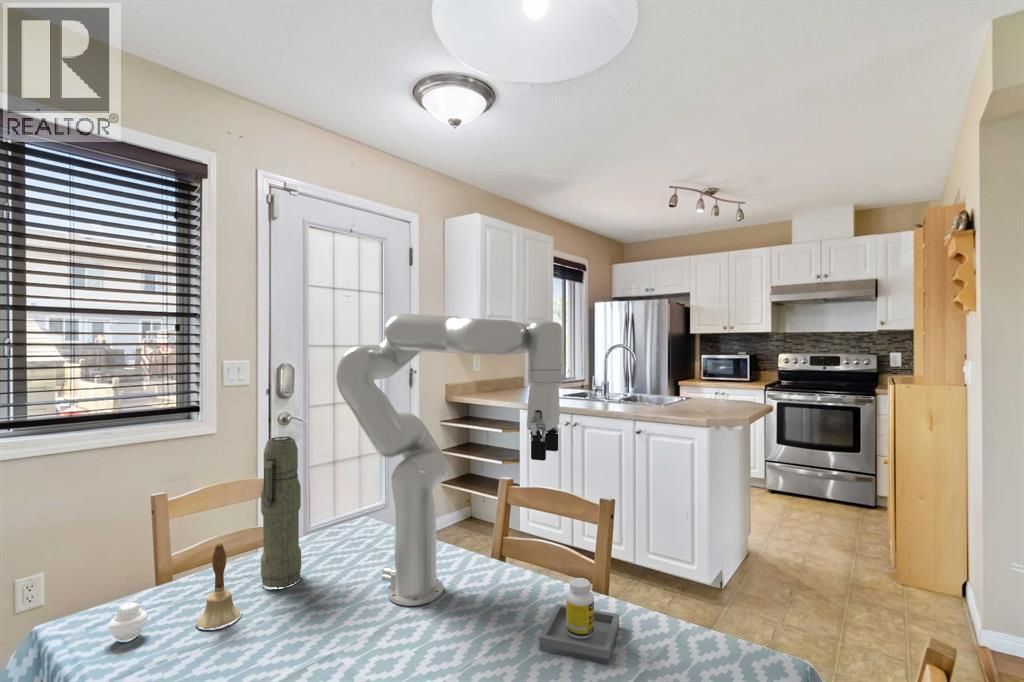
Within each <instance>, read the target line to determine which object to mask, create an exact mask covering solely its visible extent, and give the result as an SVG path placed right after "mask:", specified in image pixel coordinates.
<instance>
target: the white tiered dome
mask: <svg viewBox="0 0 1024 682" xmlns="http://www.w3.org/2000/svg"><path fill="white" fill-rule="evenodd" d="M116 612H117V613H116V614H115V615H114V617H113V618H112V619H111V620H110V621H109V624H108V629H109V632H110V634H111V635H112V636H113V637H114V639H115V640H116V639H117V640H118V639H119V640H125V639H126V640H127V639H130V638H133V637H135V636H137V635H138V634H140V635H141V633H142V631H143V630H144V627H145V625H146V622H147V620H148V616H149V615H148V613H147V612H146V611H145V610H143V609H142V608H141V607H140V604H139V603H138V602H128V603H125V604H123V605H121V606H120V607H119V608H118V609H117V610H116ZM117 640H116V641H117Z"/></svg>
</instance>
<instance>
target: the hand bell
mask: <svg viewBox="0 0 1024 682" xmlns="http://www.w3.org/2000/svg"><path fill="white" fill-rule="evenodd" d="M211 564H212V565H211V566H212V570H213V573H214V578H215V579H214V592H212V593H210V594H209V595H208V596H207V598H206V604H205V608H204V612H203V613H202V615H201V616H200V617H199V618H198V619H197V622H196V623H197V626H199V627H202V628H204V629H210V628H216V627H220V626H222V625H225V624H228V623H230V622H232V621H234V620H235V619H236V618H237V617H239V615H240V612H241V611H240V610H239V609H238V608H237V607H236V606H235V605H234V601H233V595H232V592H231V591H230V590H227V589H225V583H224V582H225V581H224V580H225V579H224V573H225V569H226V566H227V552H226V550H225V548H224V545H223V543H217V544H216V545H215V547H214V552H213V554H212V558H211Z"/></svg>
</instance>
